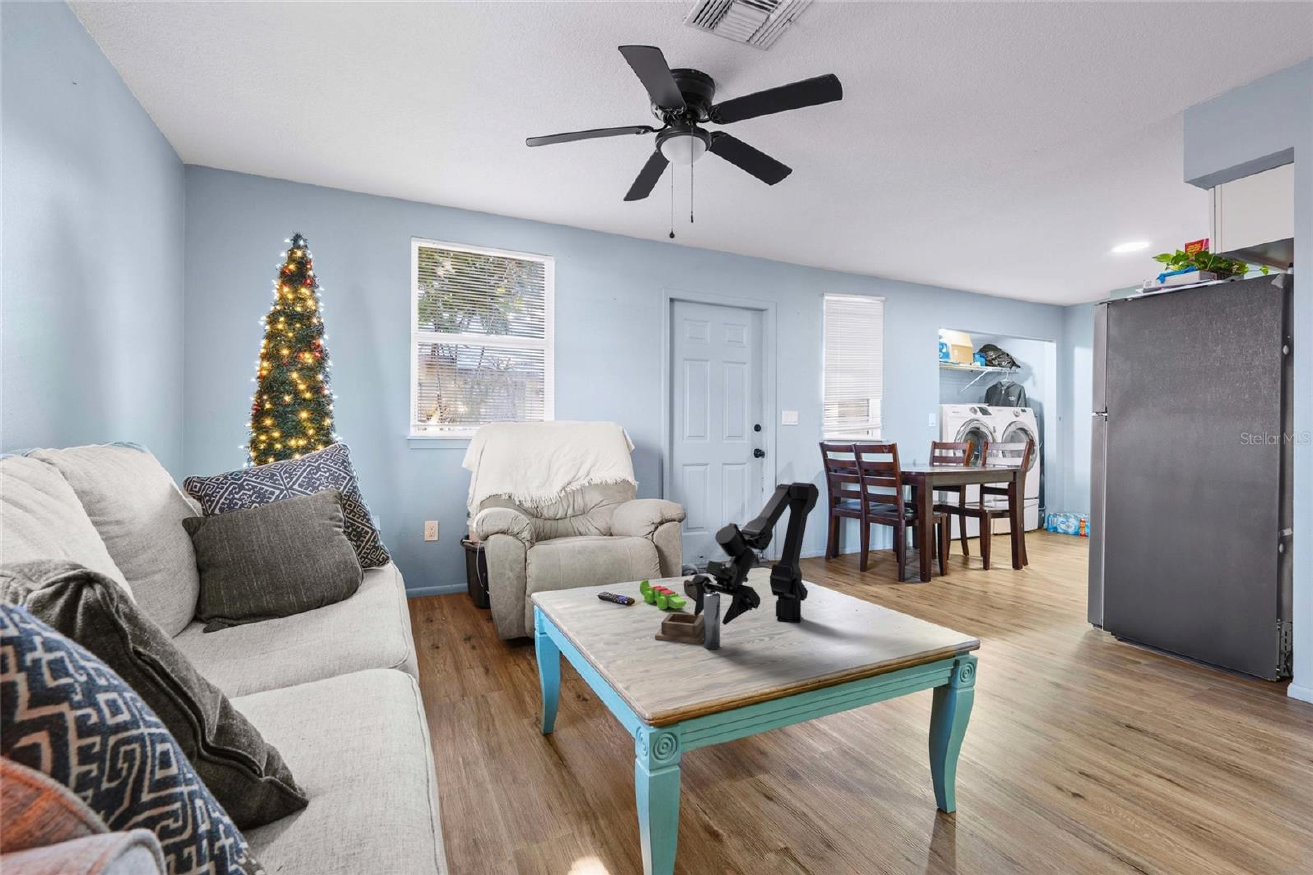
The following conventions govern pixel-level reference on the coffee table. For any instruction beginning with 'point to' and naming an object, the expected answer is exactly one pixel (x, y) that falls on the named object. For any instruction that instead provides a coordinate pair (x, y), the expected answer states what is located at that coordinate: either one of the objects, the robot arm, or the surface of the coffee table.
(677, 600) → the toy crocodile
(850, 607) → the coffee table surface
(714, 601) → the steel pin
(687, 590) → the hand tool
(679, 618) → the walnut box
